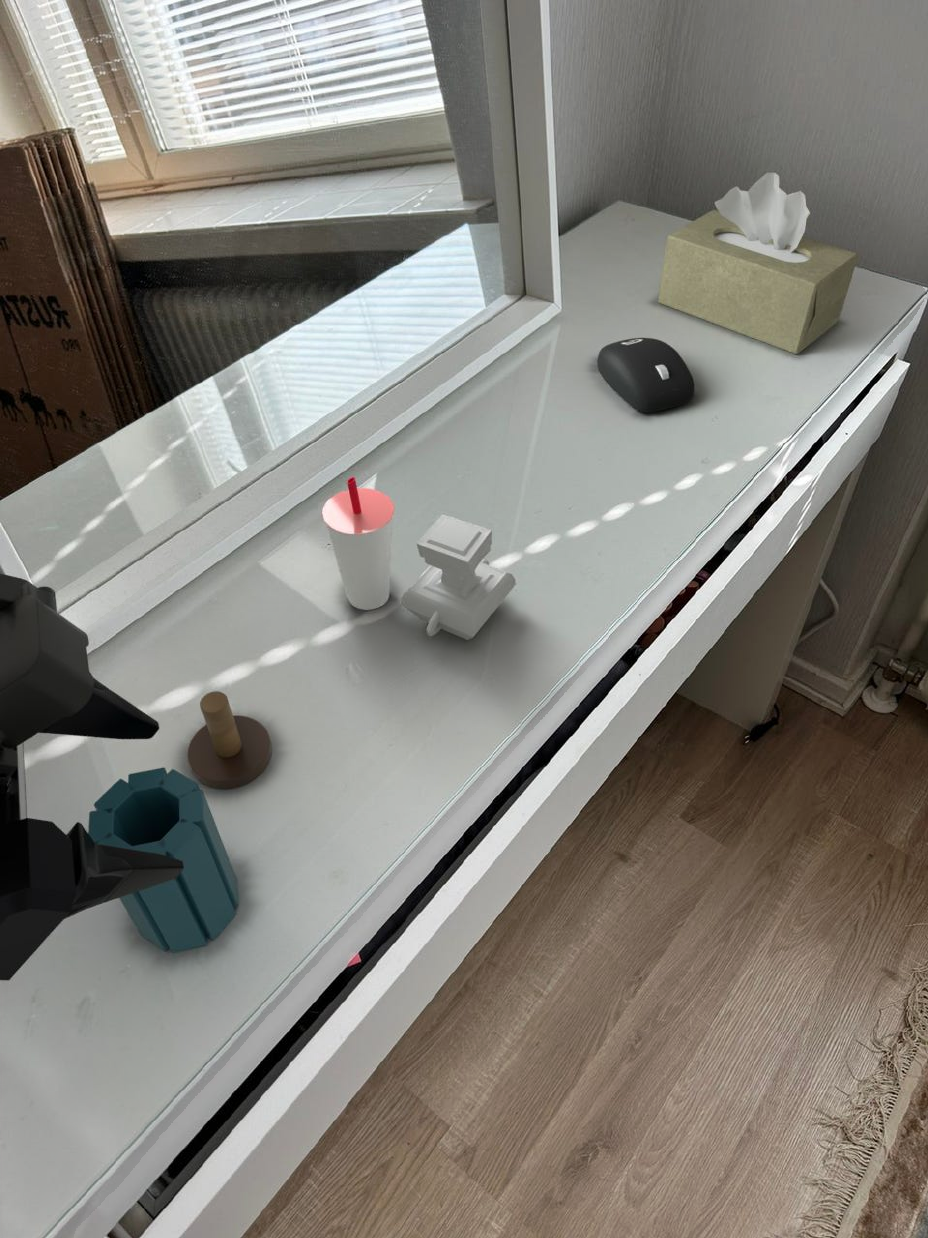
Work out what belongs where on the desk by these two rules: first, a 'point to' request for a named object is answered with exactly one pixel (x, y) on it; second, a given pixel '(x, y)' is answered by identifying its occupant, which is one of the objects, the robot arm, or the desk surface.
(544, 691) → the desk surface
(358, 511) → the cup
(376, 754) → the desk surface
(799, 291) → the tissue box
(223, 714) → the dowel stand
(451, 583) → the stamp
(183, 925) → the sleeve
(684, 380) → the computer mouse
